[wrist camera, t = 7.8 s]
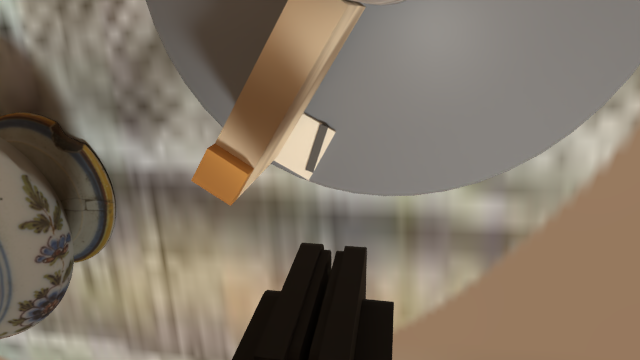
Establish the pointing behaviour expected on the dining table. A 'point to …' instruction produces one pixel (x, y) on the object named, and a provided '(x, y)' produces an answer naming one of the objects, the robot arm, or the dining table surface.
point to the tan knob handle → (278, 92)
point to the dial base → (420, 83)
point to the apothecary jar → (46, 216)
